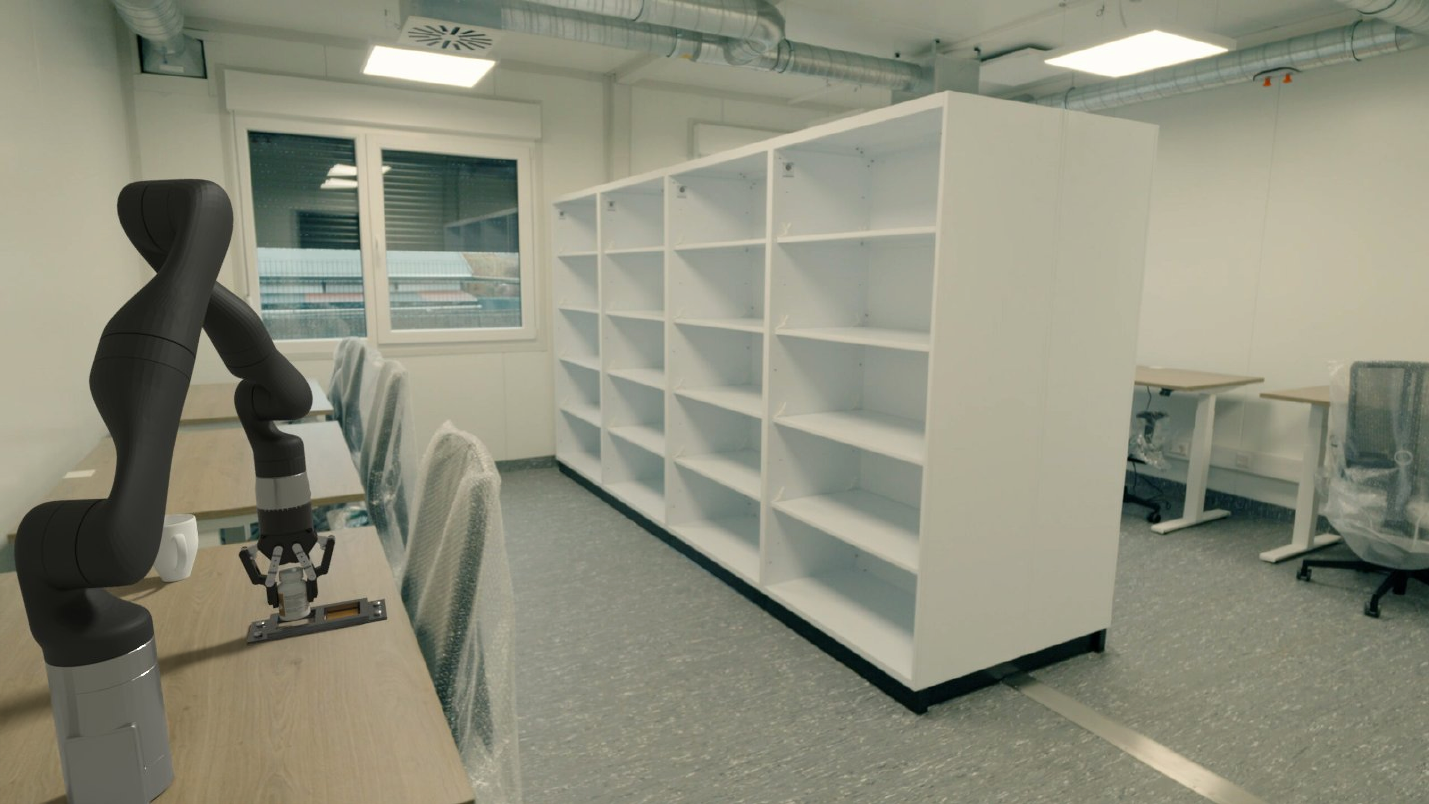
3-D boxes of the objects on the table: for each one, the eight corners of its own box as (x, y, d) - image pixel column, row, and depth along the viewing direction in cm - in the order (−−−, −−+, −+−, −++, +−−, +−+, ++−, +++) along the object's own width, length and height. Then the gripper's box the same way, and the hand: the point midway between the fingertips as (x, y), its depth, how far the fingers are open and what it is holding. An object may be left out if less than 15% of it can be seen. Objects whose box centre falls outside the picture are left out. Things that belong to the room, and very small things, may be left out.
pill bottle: (280, 613, 125) (276, 567, 124) (311, 608, 127) (306, 563, 126) (278, 623, 121) (273, 577, 120) (309, 618, 123) (305, 572, 122)
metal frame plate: (387, 618, 127) (386, 612, 127) (247, 644, 118) (246, 637, 118) (384, 601, 134) (384, 594, 134) (252, 624, 125) (251, 617, 125)
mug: (144, 578, 145) (136, 520, 143) (196, 566, 151) (189, 510, 149) (160, 595, 137) (151, 534, 135) (213, 582, 143) (206, 523, 141)
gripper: (227, 513, 115) (239, 621, 117) (333, 500, 121) (343, 603, 123) (234, 501, 121) (245, 603, 124) (334, 489, 128) (343, 587, 130)
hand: (294, 603), depth 124 cm, fingers closed on pill bottle, 4 cm apart
